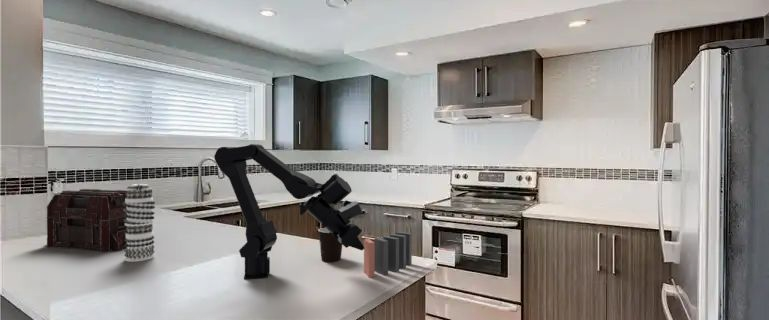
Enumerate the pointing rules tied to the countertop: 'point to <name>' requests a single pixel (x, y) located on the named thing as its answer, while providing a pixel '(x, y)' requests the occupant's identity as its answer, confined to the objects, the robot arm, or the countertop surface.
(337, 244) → the coffee mug
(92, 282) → the countertop surface
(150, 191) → the decorative candle
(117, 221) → the crate
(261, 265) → the robot arm
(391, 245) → the domino
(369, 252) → the domino
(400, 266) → the domino
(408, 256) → the domino
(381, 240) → the domino
